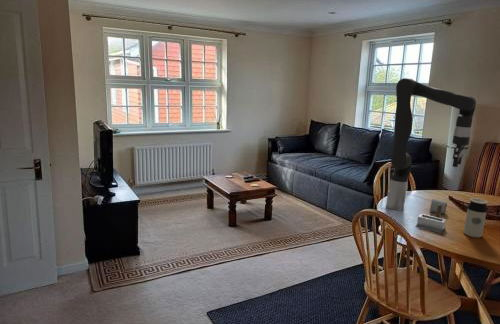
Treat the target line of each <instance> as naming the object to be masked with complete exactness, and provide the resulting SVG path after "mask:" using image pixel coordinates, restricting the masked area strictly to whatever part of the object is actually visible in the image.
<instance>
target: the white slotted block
mask: <svg viewBox="0 0 500 324" xmlns="http://www.w3.org/2000/svg"><path fill="white" fill-rule="evenodd" d="M446 222H447V219H446V218H443V217H442V218H441V217H440V218H438V217H436V216H432V215H428V214H425V213H420V214H419V215H418V216H417V223H416V225H421V226H425V227H429V228H433V229H436V230H440V231H442V232H443V231H444V229H445V228H446Z"/></svg>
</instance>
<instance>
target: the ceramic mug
mask: <svg viewBox="0 0 500 324" xmlns="http://www.w3.org/2000/svg"><path fill="white" fill-rule="evenodd" d="M438 205H442V209H441V215H444V214H446V210H447V207H448V203H447V202H446V201H444V200H439V199H435V198H432V199H431V203H430V207H429V212H430V213H436V214H437V208H438Z"/></svg>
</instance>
